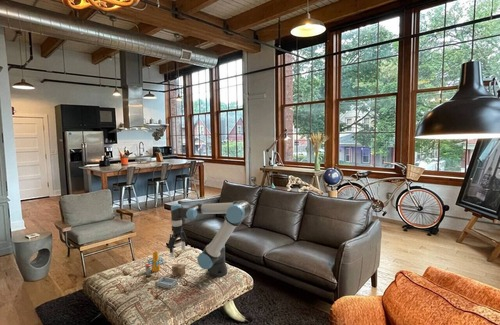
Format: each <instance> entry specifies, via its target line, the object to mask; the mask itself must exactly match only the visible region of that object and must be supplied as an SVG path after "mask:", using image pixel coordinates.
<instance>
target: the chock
mask: <svg viewBox="0 0 500 325" xmlns="http://www.w3.org/2000/svg"><path fill="white" fill-rule="evenodd" d="M173 275H174V277H177V276H179V277H178V278H183V277H184V276H185V275H186V265H185V264H180V263H175V264H174V265H172V266H171V276H173ZM183 275H184V276H183Z"/></svg>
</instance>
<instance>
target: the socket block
mask: <svg viewBox="0 0 500 325" xmlns="http://www.w3.org/2000/svg"><path fill="white" fill-rule="evenodd" d="M154 278H155V274H152V273H151V277H150V278H146V274H145V275H144V276H142V277H141V279H142V280H141V281H142V282H147V283H150V282H152V281H153V280H154Z"/></svg>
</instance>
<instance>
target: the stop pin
mask: <svg viewBox="0 0 500 325" xmlns="http://www.w3.org/2000/svg"><path fill="white" fill-rule="evenodd" d="M151 265H152V264H149V263H146V264H145V265H144V267H145V275H146V278H150V277H151V274H152V272H151V271H152V269H151V267H152V266H151ZM150 266H151V267H150Z"/></svg>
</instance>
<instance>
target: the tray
mask: <svg viewBox="0 0 500 325" xmlns="http://www.w3.org/2000/svg"><path fill="white" fill-rule="evenodd" d="M178 284H179V283H178V278H177V279H176V278H171V277H167V276H163V277H161V278H159V279H158V280H157V281H155V286H156V287H159V286H160V287H161V288H164V289H168V288H169V289H168V290H171V289H172V288H173V287H175V286H176V285H178Z"/></svg>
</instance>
